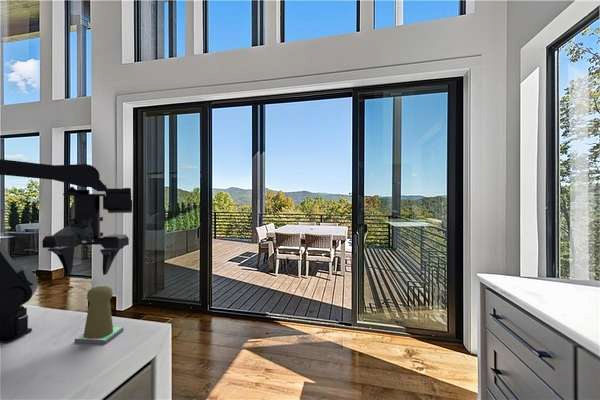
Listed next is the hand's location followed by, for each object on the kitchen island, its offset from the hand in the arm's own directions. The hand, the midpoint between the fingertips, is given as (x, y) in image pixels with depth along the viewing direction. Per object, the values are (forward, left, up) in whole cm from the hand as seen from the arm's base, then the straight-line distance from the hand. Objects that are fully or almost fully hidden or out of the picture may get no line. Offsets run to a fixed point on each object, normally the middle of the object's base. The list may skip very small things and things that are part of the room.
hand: (87, 274), depth 81 cm
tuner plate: (+8, -6, -13) cm, 16 cm away
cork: (+7, -6, -12) cm, 16 cm away
